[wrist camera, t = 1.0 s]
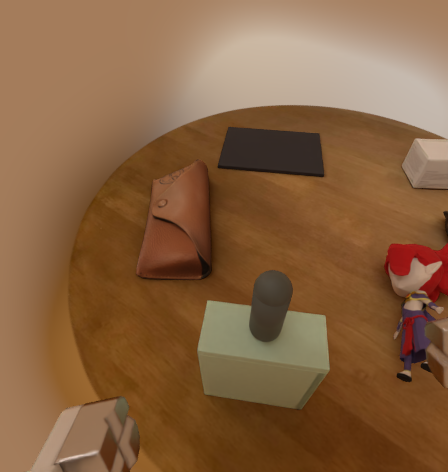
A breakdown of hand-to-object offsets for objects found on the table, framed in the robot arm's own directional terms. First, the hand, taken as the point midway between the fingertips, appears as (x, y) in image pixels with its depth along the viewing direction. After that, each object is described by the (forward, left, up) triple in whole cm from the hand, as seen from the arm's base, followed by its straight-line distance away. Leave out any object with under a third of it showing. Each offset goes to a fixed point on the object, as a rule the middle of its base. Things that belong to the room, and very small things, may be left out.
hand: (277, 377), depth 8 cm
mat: (0, +42, -19) cm, 46 cm away
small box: (+23, +38, -19) cm, 49 cm away
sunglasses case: (-11, +24, -19) cm, 33 cm away
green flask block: (0, +6, -19) cm, 20 cm away
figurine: (+15, +14, -19) cm, 29 cm away
